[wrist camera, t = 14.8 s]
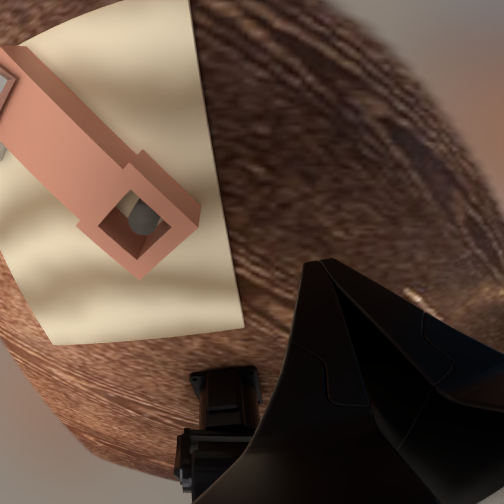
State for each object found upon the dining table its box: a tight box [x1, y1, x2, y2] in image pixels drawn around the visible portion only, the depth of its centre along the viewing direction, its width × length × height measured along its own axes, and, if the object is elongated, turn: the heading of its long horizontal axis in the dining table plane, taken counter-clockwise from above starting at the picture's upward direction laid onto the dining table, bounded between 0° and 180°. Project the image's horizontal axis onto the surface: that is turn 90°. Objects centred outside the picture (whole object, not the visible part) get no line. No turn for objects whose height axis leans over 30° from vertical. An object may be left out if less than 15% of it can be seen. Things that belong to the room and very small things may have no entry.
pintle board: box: [0, 0, 245, 345], centre depth 18 cm, size 24×18×4 cm
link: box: [0, 46, 201, 281], centre depth 15 cm, size 16×5×3 cm, turn 40°
